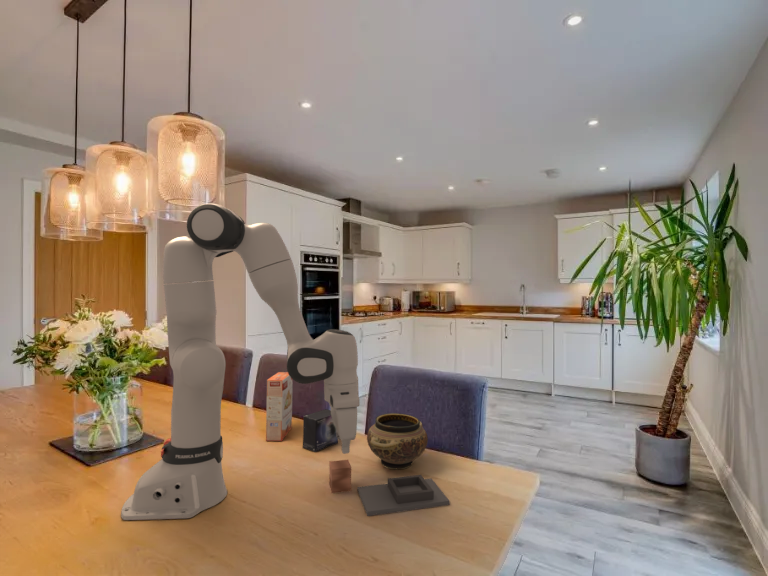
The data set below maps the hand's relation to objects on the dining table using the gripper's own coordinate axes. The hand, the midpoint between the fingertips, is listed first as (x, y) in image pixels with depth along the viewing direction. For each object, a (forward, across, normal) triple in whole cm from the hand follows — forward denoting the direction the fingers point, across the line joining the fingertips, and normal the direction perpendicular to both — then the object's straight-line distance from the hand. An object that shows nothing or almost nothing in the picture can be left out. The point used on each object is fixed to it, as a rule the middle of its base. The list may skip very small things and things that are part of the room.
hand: (342, 445), depth 106 cm
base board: (+11, +9, +13) cm, 19 cm away
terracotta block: (+11, 0, -1) cm, 11 cm away
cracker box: (+11, -44, -16) cm, 48 cm away
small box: (+11, -30, -3) cm, 32 cm away
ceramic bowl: (+12, -11, +18) cm, 24 cm away
